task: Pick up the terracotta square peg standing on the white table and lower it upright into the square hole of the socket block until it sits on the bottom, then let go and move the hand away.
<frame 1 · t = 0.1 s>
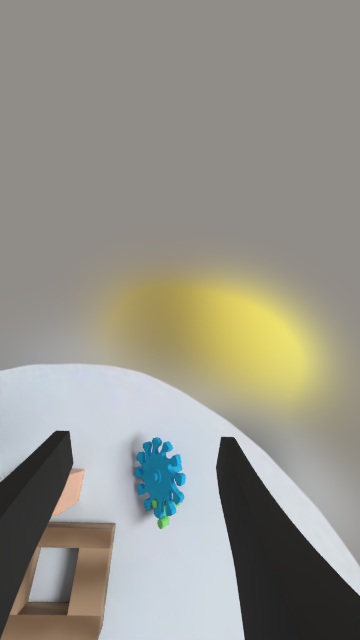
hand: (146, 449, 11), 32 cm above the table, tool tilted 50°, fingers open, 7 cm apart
socket block: (57, 570, 31), on the table
peg: (69, 484, 36), on the table
gear: (159, 476, 37), on the table
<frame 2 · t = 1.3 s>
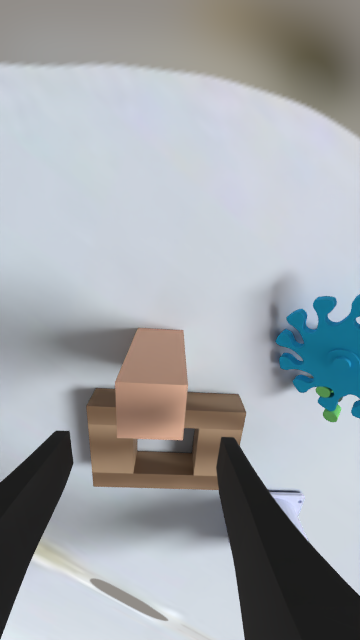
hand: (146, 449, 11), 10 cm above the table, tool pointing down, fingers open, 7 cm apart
socket block: (165, 430, 24), on the table
peg: (159, 349, 21), on the table
gear: (313, 342, 21), on the table
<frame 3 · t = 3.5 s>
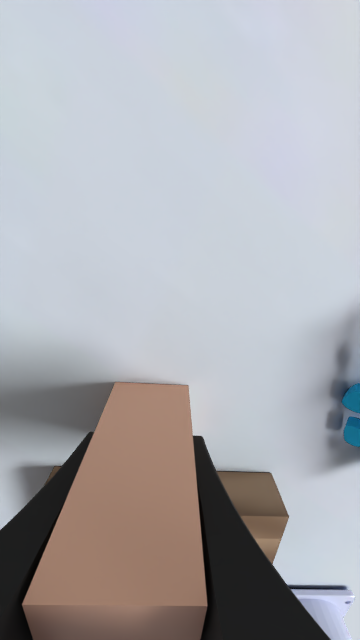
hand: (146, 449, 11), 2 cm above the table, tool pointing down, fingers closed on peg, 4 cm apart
socket block: (161, 519, 16), on the table
peg: (151, 412, 13), on the table, touching gripper
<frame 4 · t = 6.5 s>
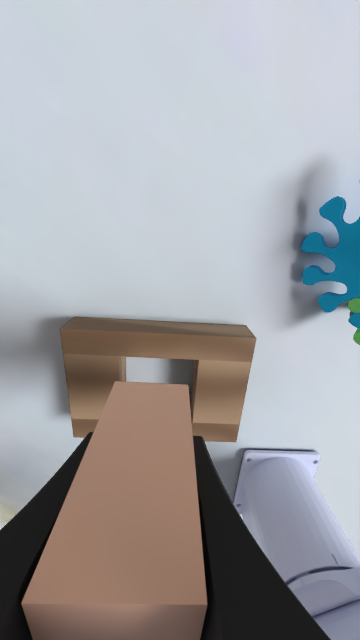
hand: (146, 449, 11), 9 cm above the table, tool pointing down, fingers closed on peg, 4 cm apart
socket block: (159, 373, 20), on the table
peg: (151, 412, 13), point 7 cm above the table, touching gripper
gear: (344, 257, 17), on the table
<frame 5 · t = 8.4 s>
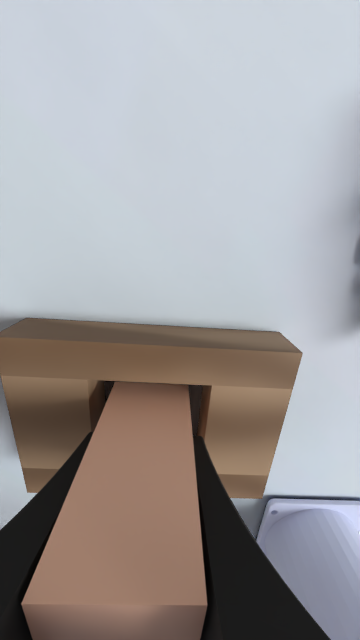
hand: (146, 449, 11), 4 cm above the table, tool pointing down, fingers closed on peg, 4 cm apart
socket block: (153, 399, 14), on the table
peg: (151, 412, 13), point 1 cm above the table, touching gripper
when the fingers open (3 cm above the table, at t = 9.6 s): peg drops 1 cm, resting in socket block.
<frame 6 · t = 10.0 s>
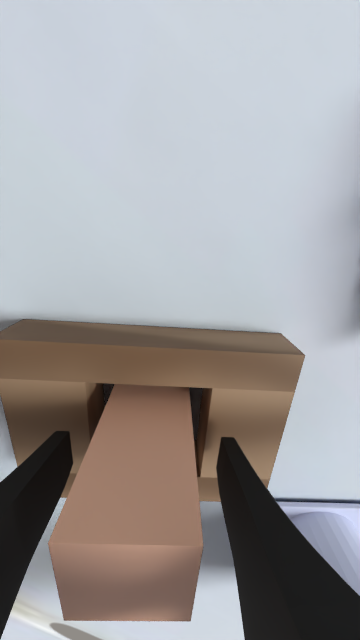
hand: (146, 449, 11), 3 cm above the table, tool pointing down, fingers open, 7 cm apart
socket block: (152, 401, 14), on the table
peg: (153, 400, 14), resting in socket block
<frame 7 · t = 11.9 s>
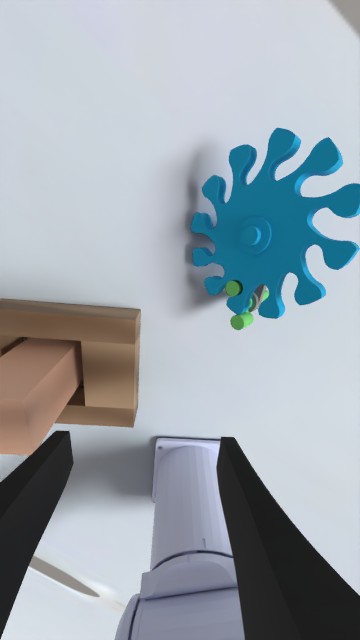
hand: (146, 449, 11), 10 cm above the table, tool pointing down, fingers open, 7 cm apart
socket block: (59, 357, 20), on the table
peg: (60, 356, 20), resting in socket block
gear: (239, 243, 17), on the table
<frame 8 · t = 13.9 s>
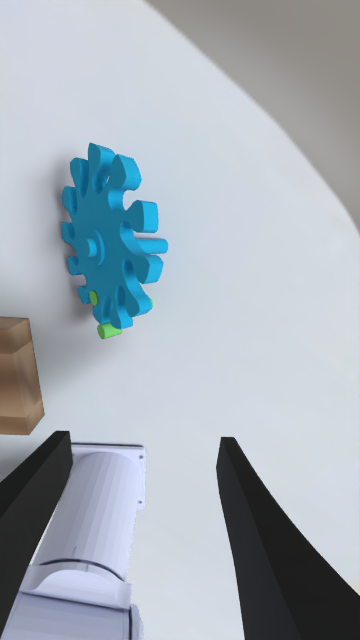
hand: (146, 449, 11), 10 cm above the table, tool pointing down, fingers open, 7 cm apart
gear: (119, 252, 18), on the table
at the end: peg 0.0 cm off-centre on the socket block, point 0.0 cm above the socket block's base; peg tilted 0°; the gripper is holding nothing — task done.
